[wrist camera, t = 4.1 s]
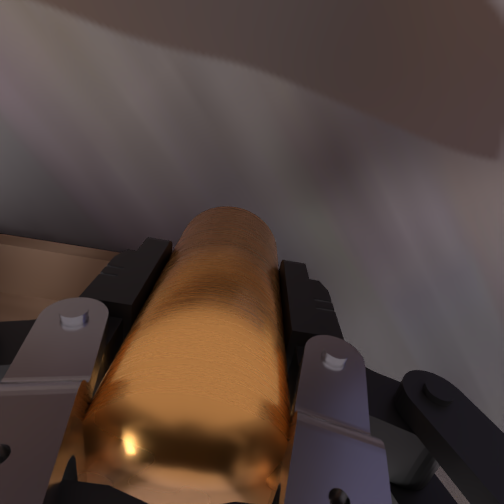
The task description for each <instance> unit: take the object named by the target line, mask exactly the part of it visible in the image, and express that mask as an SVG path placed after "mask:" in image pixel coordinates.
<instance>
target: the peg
mask: <svg viewBox="0 0 504 504" xmlns="http://www.w3.org/2000/svg"><path fill="white" fill-rule="evenodd" d="M290 416H291V404H290V393H289V382H288V371H287V359H286V348H285V337H284V326H283V314H282V303H281V292H280V281H279V270H278V258H277V248H276V242H275V239H274V236H273V234H272V232H271V230H270V229H269V227H268V226H267V225H266V224H265V222H263V221H262V220H261V219H260V218H259V217H258V216H256V215H255V214H253V213H251V212H249V211H247V210H244V209H241V208H237V207H216V208H212V209H209V210H207V211H204V212H202V213H201V214H199V215H197V216H196V217H195V218H194V219H193V220H192V221H191V222H190V223H189V224H188V226H187V227H186V229H185V230H184V232H183V234H182V236H181V238H180V239H179V241H178V243H177V245H176V247H175V249H174V250H173V252H172V254H171V256H170V258H169V260H168V261H167V263H166V265H165V267H164V269H163V270H162V272H161V274H160V276H159V278H158V280H157V281H156V283H155V285H154V287H153V289H152V291H151V292H150V294H149V296H148V298H147V300H146V301H145V303H144V305H143V307H142V309H141V311H140V312H139V314H138V316H137V318H136V320H135V321H134V323H133V325H132V327H131V329H130V331H129V332H128V334H127V336H126V338H125V340H124V342H123V343H122V345H121V347H120V349H119V351H118V352H117V354H116V356H115V358H114V360H113V362H112V363H111V365H110V367H109V369H108V371H107V373H106V374H105V376H104V378H103V380H102V382H101V383H100V385H99V387H98V389H97V391H96V393H95V394H94V396H93V398H92V400H91V403H90V405H89V407H88V409H87V412H86V414H85V416H84V419H83V421H82V424H83V437H84V449H85V462H86V475H87V482H88V483H96V484H103V485H110V486H112V487H114V488H116V489H118V490H120V491H122V492H125V493H127V494H129V495H131V496H133V497H135V498H138V499H140V500H142V501H144V502H146V503H148V504H224V503H230V502H243V503H251V504H268V501H269V498H270V495H271V492H272V489H273V486H274V483H275V480H276V478H277V475H278V472H279V469H280V466H281V463H282V460H283V457H284V454H285V451H286V448H287V443H288V435H289V426H290Z"/></svg>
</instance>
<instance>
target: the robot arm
mask: <svg viewBox="0 0 504 504" xmlns="http://www.w3.org/2000/svg"><path fill="white" fill-rule="evenodd" d="M171 254H172V242H171V241H167V240H161V239H155V238H149V237H148V238H147V239H146V240H145V241H144V242H143V244H142V245H141V246H140V248H139V249H138V250H137V251H135V250H126V251H124V252H122V253H120V254H118V255H116V256H114V257H113V258H112V260H111V261H110V262H109V263H108V264H107V267H106V266H105V268H104V269H103V270H102V271H101V272H100V274H98V276H97V277H96V278H95V279H94V280H93V281H92V282H91V283H90V285H89V286H88V287H87V288H86V289H85V290H84V291H83V293H82V294H81V295H80V296H79V297H76V298H68V299H64V300H60V301H58V302H55V303H53V304H51V305H49V306H48V307H46V308H45V309H44V310H43V311H42V312H41V313H40V314H39V316H38V318H37V319H33V320H19V321H2V322H0V504H148V503H146V502H144V501H142V500H140V499H138V498H135V497H133V496H131V495H129V494H127V493H125V492H122V491H120V490H118V489H116V488H114V487H112V486H110V485H103V484H96V483H88V482H87V475H86V462H85V449H84V437H83V424H82V421H83V419H84V416H85V414H86V412H87V409H88V407H89V405H90V403H91V400H92V398H93V396H94V394H95V393H96V391H97V389H98V387H99V385H100V383H101V382H102V380H103V378H104V376H105V374H106V373H107V371H108V369H109V367H110V365H111V363H112V362H113V360H114V358H115V356H116V354H117V352H118V351H119V349H120V347H121V345H122V343H123V342H124V340H125V338H126V336H127V334H128V332H129V331H130V329H131V327H132V325H133V323H134V321H135V320H136V318H137V316H138V314H139V312H140V311H141V309H142V307H143V305H144V303H145V301H146V300H147V298H148V296H149V294H150V292H151V291H152V289H153V287H154V285H155V283H156V281H157V280H158V278H159V276H160V274H161V272H162V270H163V269H164V267H165V265H166V263H167V261H168V260H169V258H170V256H171ZM279 281H280V292H281V303H282V314H283V326H284V337H285V348H286V359H287V371H288V382H289V393H290V404H291V416H290V426H289V435H288V443H287V448H286V451H285V454H284V457H283V460H282V463H281V466H280V469H279V472H278V475H277V478H276V480H275V483H274V486H273V489H272V492H271V495H270V498H269V501H268V504H457V502H456V501H455V500H454V498H453V497H452V496H451V494H450V493H449V492H448V490H447V489H446V488H445V487H444V485H443V484H442V483H441V481H440V480H439V479H438V477H437V476H436V475H435V472H436V471H437V469H438V468H439V466H441V467H442V468H443V470H444V471H445V472H446V473H447V475H448V476H449V477H450V478H451V480H452V481H453V482H454V483H455V485H456V486H457V487H458V489H459V490H460V491H461V492H462V494H463V495H464V496H465V497H466V499H467V500H468V501H469V502H470V504H504V433H503V432H502V431H501V430H500V429H499V428H498V427H497V426H496V425H495V424H494V423H493V422H492V421H491V420H490V419H489V418H488V417H487V416H486V415H484V414H483V413H482V412H481V411H480V410H479V409H478V408H477V407H476V406H475V405H474V404H473V403H472V402H471V401H470V400H469V399H468V398H467V397H466V396H465V395H464V394H463V393H462V392H461V391H460V390H459V389H457V388H456V387H455V386H454V385H453V384H451V383H450V382H448V381H447V380H445V379H444V378H442V377H440V376H438V375H436V374H433V373H430V372H427V371H422V370H413V371H409V372H408V373H406V374H405V375H404V377H403V379H402V381H401V382H399V381H396V380H394V379H391V378H389V377H386V376H383V375H381V374H378V373H376V372H374V371H372V370H370V369H368V368H366V367H365V361H364V359H363V357H362V355H361V354H360V352H359V351H358V350H357V349H356V348H355V347H354V346H352V345H351V344H350V343H348V342H346V341H345V340H344V338H343V335H342V332H341V329H340V326H339V323H338V320H337V317H336V314H335V312H334V307H333V304H332V303H331V298H330V295H329V292H328V290H327V289H326V288H325V287H324V286H323V285H322V284H321V283H320V282H319V281H316V280H310V279H309V277H308V273H307V269H306V265H305V264H304V263H298V262H292V261H286V260H282V262H281V265H280V269H279ZM224 504H251V503H243V502H230V503H224Z"/></svg>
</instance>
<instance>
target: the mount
mask: <svg viewBox="0 0 504 504" xmlns="http://www.w3.org/2000/svg"><path fill="white" fill-rule="evenodd" d="M118 254H120V253H119V252H113V251H107V250H100V249H94V248H88V247H82V246H75V245H69V244H63V243H56V242H50V241H44V240H38V239H31V238H25V237H19V236H12V235H6V234H0V322H2V321H19V320H33V319H37V318H38V316H39V314H40V313H41V312H42V311H43V310H44V309H45V308H46V307H48V306H49V305H51V304H53V303H55V302H58V301H60V300H64V299H68V298H76V297H79V296H80V295H81V294H82V293H83V291H84V290H85V289H86V288H87V287H88V286H89V285H90V283H91V282H92V281H93V280H94V279H95V278H96V277H97V276H98V274H100V272H101V271H102V270H103V269H104V268H105V266H106V267H107V264H108V263H109V262H110V261H111V260H112V258H113V257H114V256H116V255H118Z"/></svg>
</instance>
